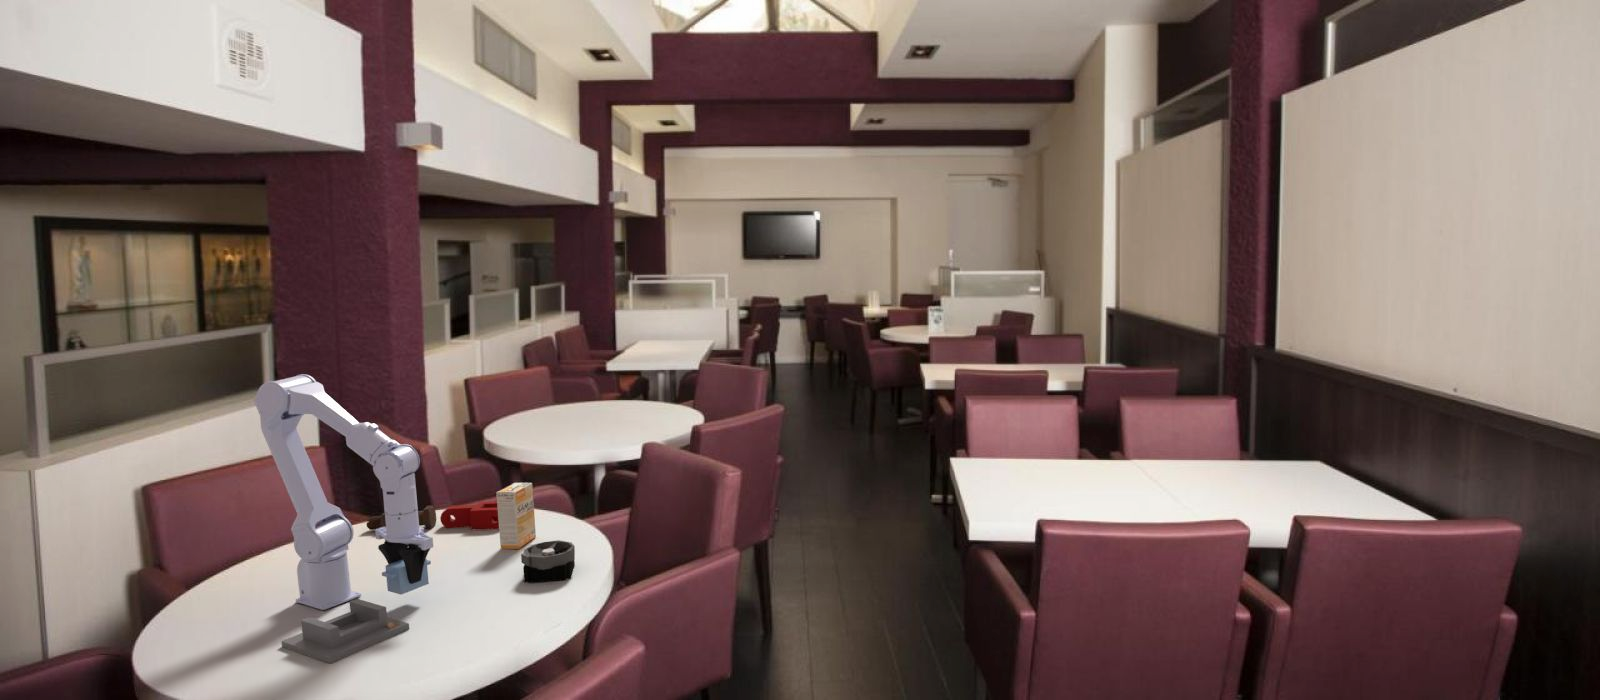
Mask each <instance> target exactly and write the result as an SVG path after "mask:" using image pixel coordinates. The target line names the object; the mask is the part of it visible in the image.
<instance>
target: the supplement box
mask: <svg viewBox="0 0 1600 700" xmlns="http://www.w3.org/2000/svg"><path fill="white" fill-rule="evenodd" d="M533 491H534V489H533V483H532V482H513V483H511V484H510V485H508V486H505V487H503V488H502V489H500V490H498V491H496V492H495V493H496V501H497V507H498V520H499V529H498V531H499V532H498V533H499V543H500V544H499V545H500V549H506V550H508V549H509V550H513V549H514V550H519V549H521V548H522V547H523V546H525V545H526V544H528V543H529V542H530V541H532V540H533V539H535V538H537V537H536V536H537V534H536V533H537V532H536V520H535V506H534V492H533Z"/></svg>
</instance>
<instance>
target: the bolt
mask: <svg viewBox="0 0 1600 700" xmlns="http://www.w3.org/2000/svg"><path fill="white" fill-rule="evenodd" d="M418 519H419V527H423V526H424V529H426V530H432V529H433V528H434V527H436V523H437V512H436V509H435V507H434V506H433V505H426V507H424V508H423V509H422V510H420V511H419V510H418ZM381 527H386V520H385V511H384V512H383V513H382V514H381V515H376V516H369V518H367V519H366V528H367V529H369V530H371V531H375V529H378V528H381Z"/></svg>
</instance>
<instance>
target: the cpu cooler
mask: <svg viewBox="0 0 1600 700" xmlns="http://www.w3.org/2000/svg"><path fill="white" fill-rule="evenodd" d="M575 548H576V547H575V545H574V543H572V542H570V541H565V540H559V539H558V540H550V541H543V542H538V543H534V544H530V545H529V546H528V547H526V548H525V549H524V550H523V553H521V554H520V556H521V557H520V559H521V561H520V562H521V564H523V580H524V581H523V582H524V583H529V582H530V583H531V584H533V583H534V582H536V583H537V582H539V583H546V581H547V582H549V581H550V580H551V581H550V582H560V581H566V580H567V579H572V576H573V573H574V570H573V569H575V567H576V566H575V565H576V564H575V563H576V562H575V557H576V556H575V555H576V554H575V552H576V551H575V550H576V549H575ZM566 578H567V579H566ZM560 579H561V580H560ZM526 581H528V582H526ZM543 581H544V582H543ZM532 582H533V583H532ZM530 583H529V584H530Z"/></svg>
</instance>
